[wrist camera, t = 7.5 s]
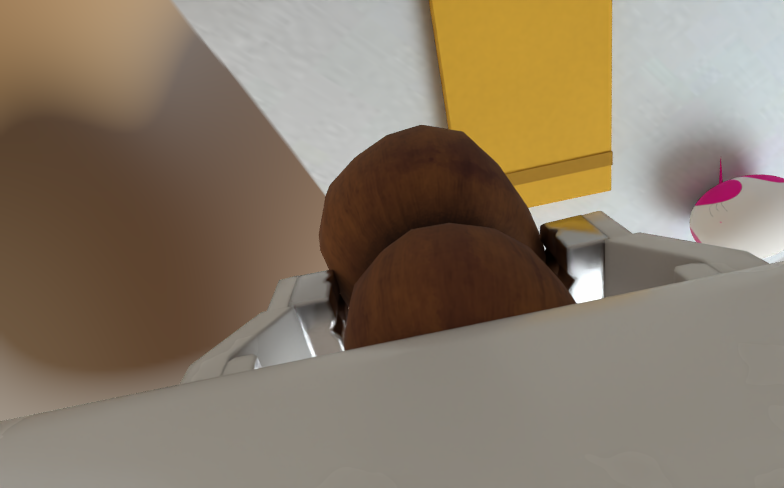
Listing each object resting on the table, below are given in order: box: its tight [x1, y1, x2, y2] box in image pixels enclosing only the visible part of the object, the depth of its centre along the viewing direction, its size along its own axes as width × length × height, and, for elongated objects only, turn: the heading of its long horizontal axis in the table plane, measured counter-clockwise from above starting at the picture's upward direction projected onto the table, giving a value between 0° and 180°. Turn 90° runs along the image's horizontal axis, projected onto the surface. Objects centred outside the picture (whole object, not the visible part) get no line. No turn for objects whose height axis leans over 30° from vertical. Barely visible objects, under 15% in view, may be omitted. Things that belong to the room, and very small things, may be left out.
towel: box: [429, 0, 612, 208], centre depth 29 cm, size 11×18×1 cm, turn 12°
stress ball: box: [690, 158, 784, 259], centre depth 32 cm, size 8×8×7 cm
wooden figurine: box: [319, 125, 576, 351], centre depth 10 cm, size 7×6×15 cm
